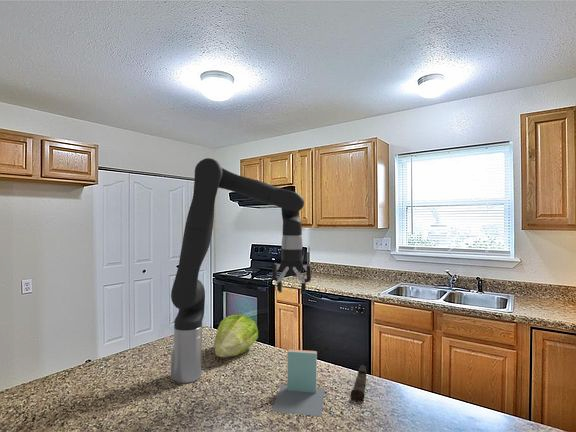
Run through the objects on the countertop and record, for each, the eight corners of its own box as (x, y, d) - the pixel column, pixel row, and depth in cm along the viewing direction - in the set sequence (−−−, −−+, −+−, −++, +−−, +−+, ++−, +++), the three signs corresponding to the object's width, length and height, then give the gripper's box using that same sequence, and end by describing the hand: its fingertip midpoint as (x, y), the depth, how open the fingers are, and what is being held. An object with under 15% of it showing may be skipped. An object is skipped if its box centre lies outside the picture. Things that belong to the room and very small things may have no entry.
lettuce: (196, 364, 128) (200, 328, 126) (225, 336, 151) (229, 305, 149) (237, 376, 124) (241, 340, 122) (261, 345, 147) (264, 314, 145)
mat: (271, 413, 93) (271, 411, 93) (281, 386, 109) (281, 384, 109) (321, 418, 91) (321, 416, 91) (324, 390, 107) (324, 388, 107)
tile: (287, 390, 105) (287, 351, 106) (288, 387, 107) (288, 349, 108) (316, 392, 104) (316, 353, 104) (316, 389, 106) (316, 351, 106)
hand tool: (364, 405, 99) (364, 389, 99) (350, 402, 100) (350, 386, 100) (371, 378, 116) (371, 364, 117) (360, 375, 118) (360, 362, 118)
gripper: (270, 248, 120) (269, 294, 120) (310, 249, 117) (309, 296, 117) (274, 246, 127) (274, 290, 127) (312, 247, 125) (312, 291, 124)
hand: (291, 292), depth 122 cm, fingers open, 7 cm apart
